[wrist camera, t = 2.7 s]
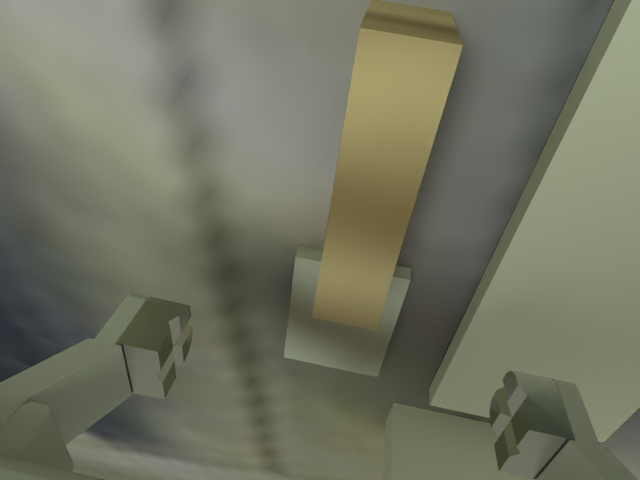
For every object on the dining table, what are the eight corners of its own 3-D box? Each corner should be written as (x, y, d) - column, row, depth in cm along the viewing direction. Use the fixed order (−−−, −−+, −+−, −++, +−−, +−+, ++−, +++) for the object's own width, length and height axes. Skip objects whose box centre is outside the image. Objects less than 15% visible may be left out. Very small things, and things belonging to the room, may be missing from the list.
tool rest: (635, -43, 12) (651, -40, 11) (994, 14, 11) (1037, 22, 10) (429, 388, 24) (429, 405, 23) (596, 424, 24) (603, 442, 23)
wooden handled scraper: (329, -9, 13) (304, 18, 10) (494, 19, 13) (520, 55, 10) (287, 345, 24) (268, 412, 21) (378, 364, 24) (373, 435, 21)
